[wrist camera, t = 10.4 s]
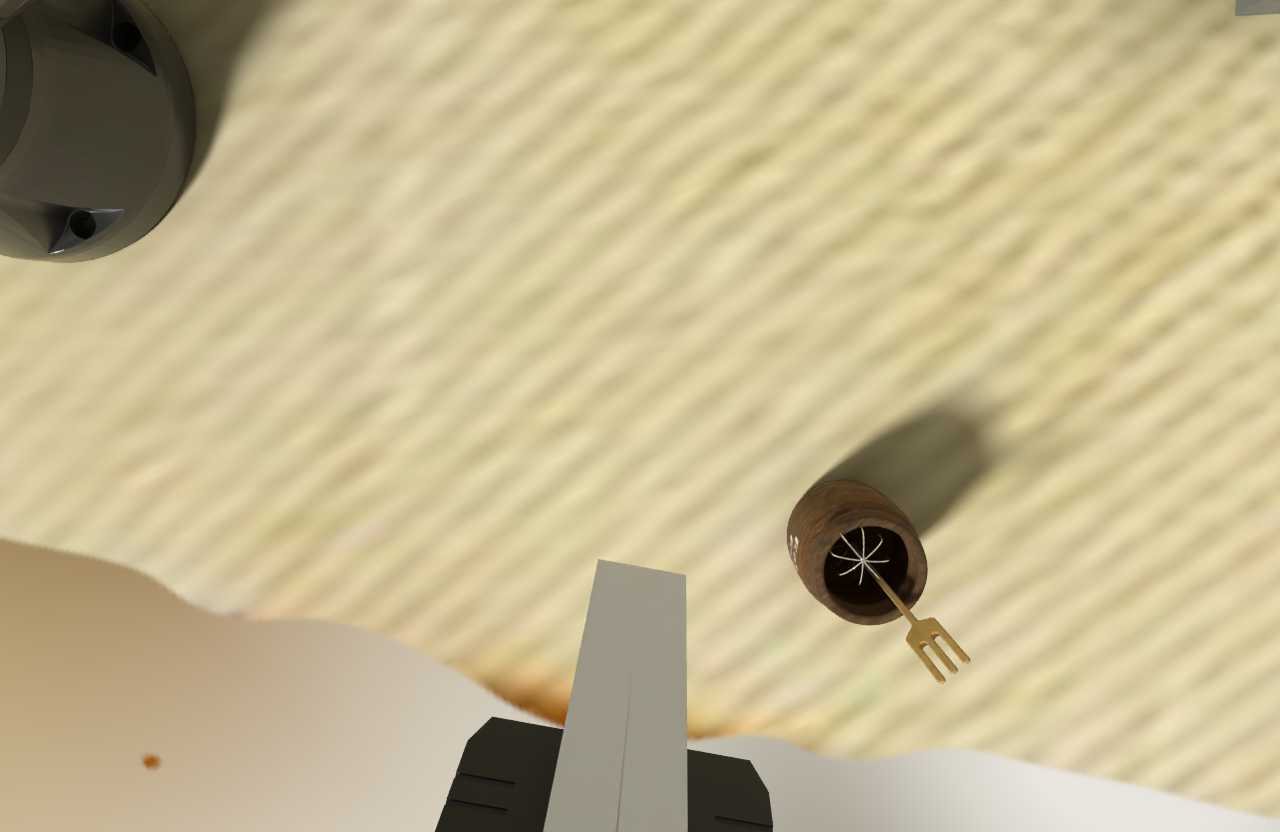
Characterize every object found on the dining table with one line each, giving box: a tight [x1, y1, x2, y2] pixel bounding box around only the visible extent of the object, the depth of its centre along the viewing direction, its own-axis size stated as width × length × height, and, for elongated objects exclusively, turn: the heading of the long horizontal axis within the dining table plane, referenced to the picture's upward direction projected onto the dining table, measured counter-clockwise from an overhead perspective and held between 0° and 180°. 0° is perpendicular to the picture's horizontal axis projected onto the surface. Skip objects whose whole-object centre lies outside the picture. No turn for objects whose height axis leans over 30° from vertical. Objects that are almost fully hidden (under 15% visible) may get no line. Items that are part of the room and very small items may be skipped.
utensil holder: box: [787, 480, 970, 684], centre depth 37 cm, size 6×6×12 cm
